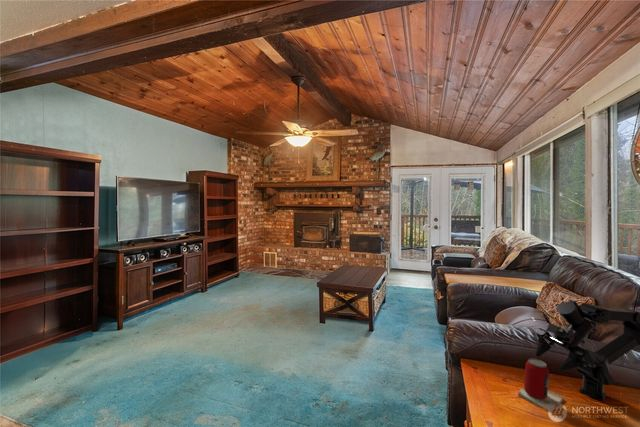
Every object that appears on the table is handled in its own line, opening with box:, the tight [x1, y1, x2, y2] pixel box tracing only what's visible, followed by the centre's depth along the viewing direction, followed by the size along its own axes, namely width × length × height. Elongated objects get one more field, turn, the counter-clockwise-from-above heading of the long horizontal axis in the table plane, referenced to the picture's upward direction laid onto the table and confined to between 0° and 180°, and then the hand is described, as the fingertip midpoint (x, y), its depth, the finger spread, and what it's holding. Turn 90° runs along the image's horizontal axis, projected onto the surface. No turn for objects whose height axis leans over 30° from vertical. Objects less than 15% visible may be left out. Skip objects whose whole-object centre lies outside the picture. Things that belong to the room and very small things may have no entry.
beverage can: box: [523, 357, 550, 399], centre depth 105 cm, size 7×7×12 cm
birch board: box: [517, 387, 564, 413], centre depth 105 cm, size 12×10×1 cm
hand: (547, 362), depth 105 cm, fingers open, 9 cm apart
